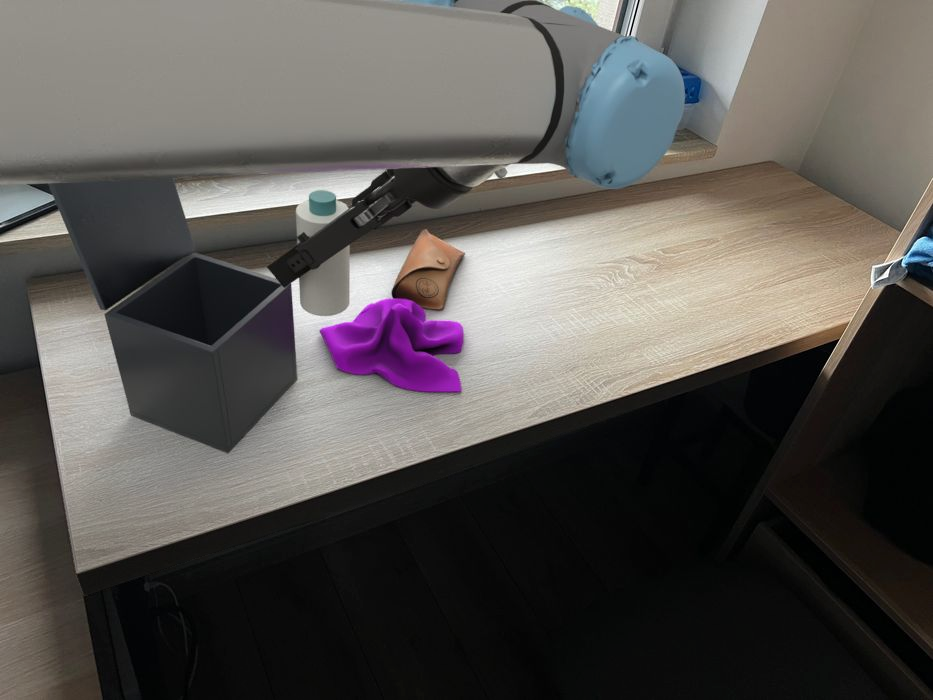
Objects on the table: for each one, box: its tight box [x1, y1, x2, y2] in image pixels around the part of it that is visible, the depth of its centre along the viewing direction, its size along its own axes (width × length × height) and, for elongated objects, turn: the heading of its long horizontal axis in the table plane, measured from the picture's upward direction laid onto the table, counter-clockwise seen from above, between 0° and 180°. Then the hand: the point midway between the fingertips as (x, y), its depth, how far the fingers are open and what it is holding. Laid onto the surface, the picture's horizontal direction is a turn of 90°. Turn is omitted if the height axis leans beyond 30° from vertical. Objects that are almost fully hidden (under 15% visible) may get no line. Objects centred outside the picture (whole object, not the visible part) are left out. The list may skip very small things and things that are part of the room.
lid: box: [47, 178, 196, 311], centre depth 77 cm, size 14×15×1 cm
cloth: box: [319, 298, 464, 393], centre depth 99 cm, size 22×19×6 cm
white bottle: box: [295, 189, 351, 317], centre depth 74 cm, size 5×5×12 cm
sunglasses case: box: [391, 229, 466, 311], centre depth 114 cm, size 18×7×7 cm
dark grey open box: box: [103, 251, 298, 454], centre depth 85 cm, size 14×15×15 cm
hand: (293, 262), depth 76 cm, fingers closed on white bottle, 5 cm apart
